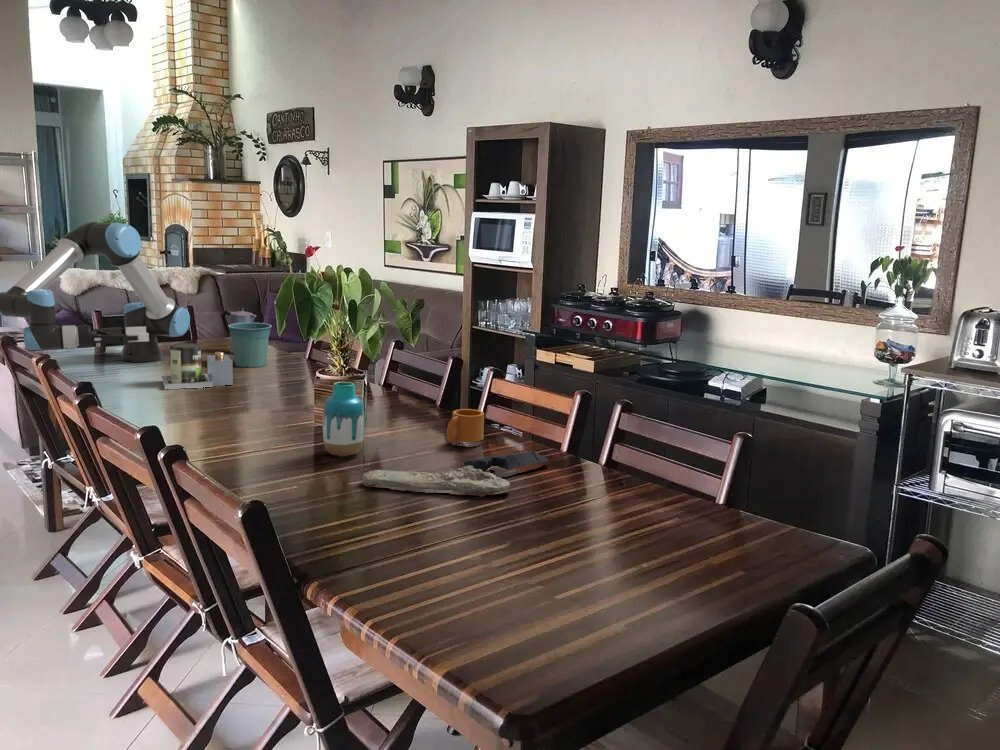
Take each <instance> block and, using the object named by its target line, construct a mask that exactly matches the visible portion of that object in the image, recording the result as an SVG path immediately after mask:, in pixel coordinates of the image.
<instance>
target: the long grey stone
mask: <svg viewBox="0 0 1000 750" xmlns="http://www.w3.org/2000/svg"><path fill="white" fill-rule="evenodd" d="M493 473H494V472H493ZM493 473H490V472H483V471H482V470H481V469H478V470H477V469H474V468H473V466H466V467H462V468H461V467H460V468H457V469H456V470H452V469H451V470H447V471H445V472H435V473H432V472H428V471H425V472H423V471H420V472H418V471H408V470H407V471H404V470H401V471H398V470H385V469H374V470H369V471H367V472H364V473H363V474H362V477H361V482H362V481H363V482H365V483H368V484H375V485H380V486H389V487H401V488H419V489H434V490H453V491H459V492H466V491H467V492H473V491H482V492H489V491H498V492H499V491H504V490H508V489H509V488H510V489H511V483H510V481H508V480H507V479H505V478H501V477H498V476H496V475H494V474H493Z"/></svg>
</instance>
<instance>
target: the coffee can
mask: <svg viewBox="0 0 1000 750" xmlns="http://www.w3.org/2000/svg"><path fill="white" fill-rule="evenodd" d="M169 351H170V352H169V355H170V356H169V357H170V375H171V381H170V382H171V383H190V382H203V380H202V374H203V373H202V344H200V343H197V342H196V343H194V342H181V343H179V342H178V343H173V344H170V345H169Z"/></svg>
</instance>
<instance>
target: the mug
mask: <svg viewBox="0 0 1000 750" xmlns="http://www.w3.org/2000/svg"><path fill="white" fill-rule="evenodd" d="M484 425H485V413H484V411H482V410H479V409H472V408H460V409H455V410H453V411H452V418H451V419H450V420H449V422H448V425H447V428H446V438H447V441H448V442H456V441H464V442H474V441H475V442H476V441H480V440H482V439H483V440H484V428H485V427H484Z"/></svg>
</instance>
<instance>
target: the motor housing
mask: <svg viewBox="0 0 1000 750" xmlns="http://www.w3.org/2000/svg"><path fill="white" fill-rule="evenodd" d="M206 357H207V359H206V361H207V362H206V363H207V366H206V367H207V373H201V374H202V382H190V383H169V382H168V381H170V382H171V374H170V375H161V382H163V383H162V385H164V386H163V388H164V390H165V391H167V390H166V389H179V390H181V389H180V388H198V389H206V388H205V387H213V386H216V387H226V386H225V385H233V386H234V382H233V381H234V380H233V379H234V376H233V375H234V373H233V360H232V359H231V357H230V355H228V354H225V352H223V351H215V352H214V354H213V355H206ZM203 379H204V380H203ZM203 387H204V388H203ZM213 388H214V387H213Z"/></svg>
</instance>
